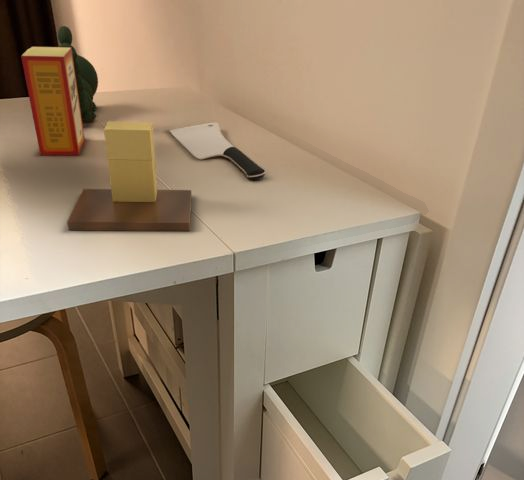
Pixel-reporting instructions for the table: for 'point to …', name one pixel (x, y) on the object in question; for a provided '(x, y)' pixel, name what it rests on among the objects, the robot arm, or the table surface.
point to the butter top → (129, 140)
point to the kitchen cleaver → (215, 147)
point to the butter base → (133, 180)
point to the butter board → (131, 212)
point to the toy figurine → (82, 77)
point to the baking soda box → (54, 99)
